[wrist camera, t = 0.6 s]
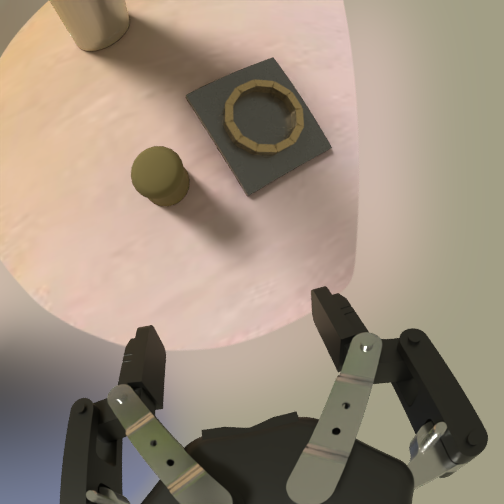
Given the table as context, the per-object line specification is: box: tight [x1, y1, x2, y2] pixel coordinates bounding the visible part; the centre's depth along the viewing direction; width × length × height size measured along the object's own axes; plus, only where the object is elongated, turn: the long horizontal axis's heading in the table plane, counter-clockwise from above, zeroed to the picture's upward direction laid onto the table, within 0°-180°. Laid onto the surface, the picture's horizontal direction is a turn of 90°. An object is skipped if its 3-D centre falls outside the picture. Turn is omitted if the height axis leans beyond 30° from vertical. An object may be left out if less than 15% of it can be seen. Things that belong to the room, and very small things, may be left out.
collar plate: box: [186, 58, 332, 196], centre depth 34 cm, size 16×14×3 cm
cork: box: [131, 146, 189, 206], centre depth 29 cm, size 6×6×11 cm
